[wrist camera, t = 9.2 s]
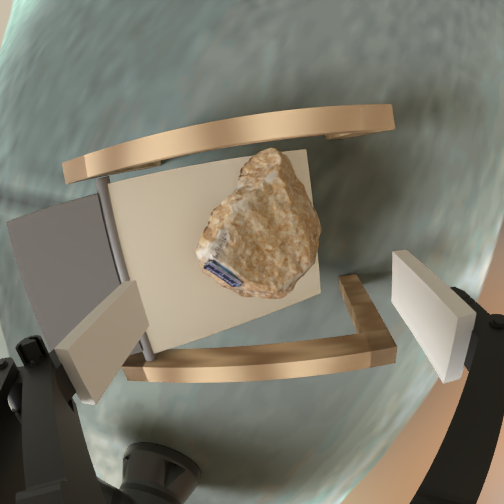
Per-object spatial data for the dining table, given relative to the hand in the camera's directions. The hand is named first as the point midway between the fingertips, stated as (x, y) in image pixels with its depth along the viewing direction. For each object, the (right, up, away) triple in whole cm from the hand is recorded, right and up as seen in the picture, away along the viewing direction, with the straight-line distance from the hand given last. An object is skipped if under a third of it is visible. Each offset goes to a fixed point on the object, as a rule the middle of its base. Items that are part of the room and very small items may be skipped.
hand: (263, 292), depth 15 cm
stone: (0, +4, +9) cm, 10 cm away
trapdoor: (-8, +2, +11) cm, 14 cm away
